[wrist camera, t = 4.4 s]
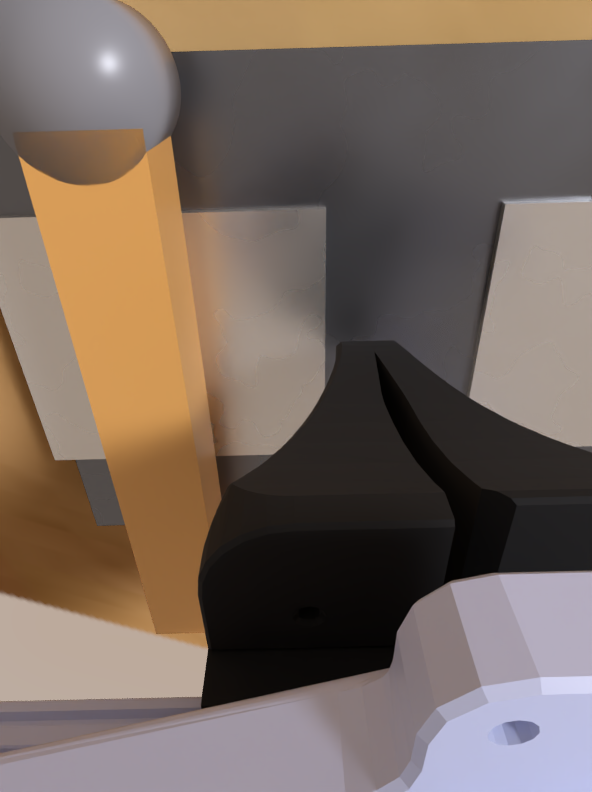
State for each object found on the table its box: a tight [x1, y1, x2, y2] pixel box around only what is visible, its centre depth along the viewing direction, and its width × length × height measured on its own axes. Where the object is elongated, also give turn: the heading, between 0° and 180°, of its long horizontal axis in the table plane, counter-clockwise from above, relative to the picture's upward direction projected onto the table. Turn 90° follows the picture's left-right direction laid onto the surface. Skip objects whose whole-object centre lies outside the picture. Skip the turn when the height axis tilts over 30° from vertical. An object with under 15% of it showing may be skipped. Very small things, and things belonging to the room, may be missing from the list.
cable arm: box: [0, 0, 222, 634], centre depth 12 cm, size 15×3×2 cm, turn 1°
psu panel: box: [0, 40, 592, 526], centre depth 14 cm, size 13×24×2 cm, turn 92°
